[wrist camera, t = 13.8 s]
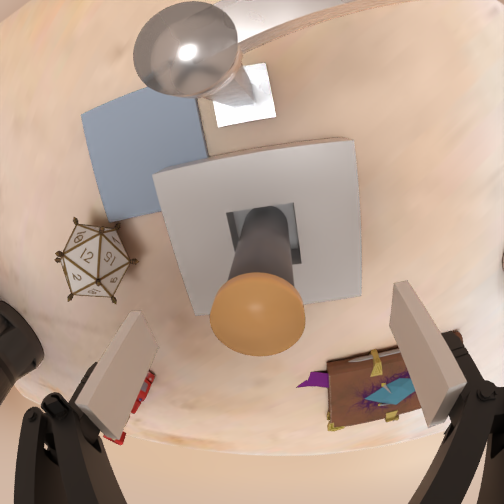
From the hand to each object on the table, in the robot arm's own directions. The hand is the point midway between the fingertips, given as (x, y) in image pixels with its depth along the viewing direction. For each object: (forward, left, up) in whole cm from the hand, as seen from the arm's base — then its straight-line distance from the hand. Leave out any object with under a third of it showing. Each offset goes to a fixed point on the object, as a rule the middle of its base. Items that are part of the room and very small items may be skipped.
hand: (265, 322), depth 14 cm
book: (+13, -27, -15) cm, 34 cm away
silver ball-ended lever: (+6, +14, +1) cm, 15 cm away
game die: (-17, 0, -15) cm, 23 cm away
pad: (-10, +9, -15) cm, 20 cm away
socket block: (0, 0, -15) cm, 15 cm away
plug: (0, 0, -14) cm, 14 cm away
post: (0, +12, -15) cm, 19 cm away
